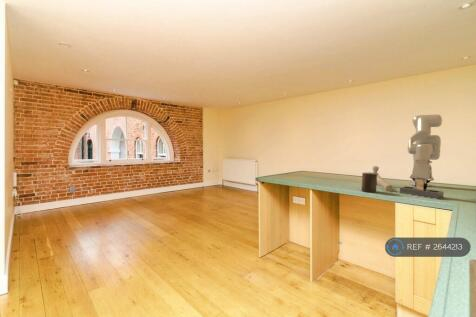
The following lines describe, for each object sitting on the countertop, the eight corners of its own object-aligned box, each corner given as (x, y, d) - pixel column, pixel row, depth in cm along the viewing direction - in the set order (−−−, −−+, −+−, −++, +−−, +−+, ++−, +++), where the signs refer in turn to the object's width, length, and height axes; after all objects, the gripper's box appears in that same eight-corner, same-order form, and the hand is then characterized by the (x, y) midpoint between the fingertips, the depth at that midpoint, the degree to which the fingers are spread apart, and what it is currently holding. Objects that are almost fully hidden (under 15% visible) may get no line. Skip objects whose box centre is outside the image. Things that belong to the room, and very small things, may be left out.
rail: (405, 191, 172) (405, 186, 172) (443, 197, 153) (443, 191, 153) (399, 192, 167) (399, 187, 167) (438, 199, 148) (438, 193, 148)
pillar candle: (367, 192, 167) (369, 172, 166) (358, 190, 177) (359, 170, 176) (379, 192, 169) (380, 172, 168) (369, 189, 179) (370, 170, 178)
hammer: (394, 179, 170) (377, 165, 198) (387, 178, 171) (371, 165, 199) (390, 198, 175) (375, 182, 203) (384, 198, 175) (369, 182, 204)
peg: (418, 192, 163) (419, 178, 162) (425, 193, 159) (426, 178, 159) (415, 192, 161) (416, 178, 160) (422, 193, 157) (423, 179, 157)
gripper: (439, 162, 153) (438, 190, 155) (410, 161, 168) (409, 186, 169) (435, 163, 149) (433, 191, 151) (405, 161, 164) (404, 187, 165)
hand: (420, 188), depth 160 cm, fingers closed on peg, 3 cm apart
